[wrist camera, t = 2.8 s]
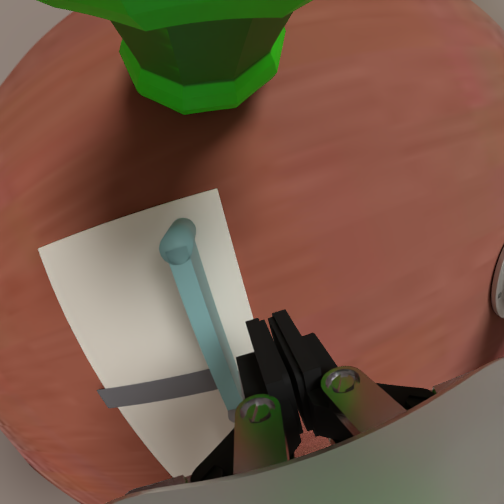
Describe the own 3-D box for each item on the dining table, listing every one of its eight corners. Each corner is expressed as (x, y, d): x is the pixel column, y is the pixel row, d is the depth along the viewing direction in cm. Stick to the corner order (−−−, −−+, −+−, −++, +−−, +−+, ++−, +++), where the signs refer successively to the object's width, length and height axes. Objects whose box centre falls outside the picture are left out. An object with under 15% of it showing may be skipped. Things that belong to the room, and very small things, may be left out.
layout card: (294, 456, 30) (295, 459, 29) (169, 480, 28) (169, 482, 28) (217, 188, 21) (217, 188, 20) (31, 251, 19) (29, 252, 19)
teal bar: (245, 380, 24) (254, 419, 20) (225, 386, 24) (230, 425, 19) (192, 214, 20) (186, 227, 15) (166, 222, 20) (154, 237, 15)
